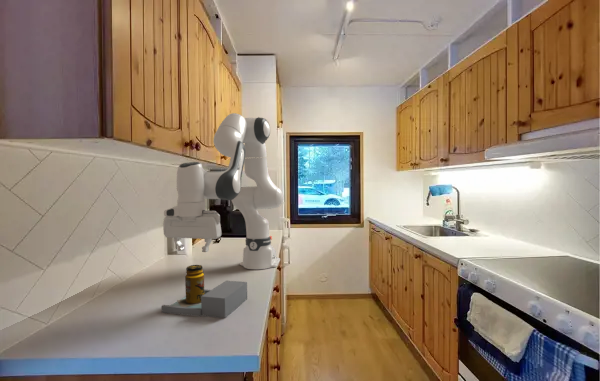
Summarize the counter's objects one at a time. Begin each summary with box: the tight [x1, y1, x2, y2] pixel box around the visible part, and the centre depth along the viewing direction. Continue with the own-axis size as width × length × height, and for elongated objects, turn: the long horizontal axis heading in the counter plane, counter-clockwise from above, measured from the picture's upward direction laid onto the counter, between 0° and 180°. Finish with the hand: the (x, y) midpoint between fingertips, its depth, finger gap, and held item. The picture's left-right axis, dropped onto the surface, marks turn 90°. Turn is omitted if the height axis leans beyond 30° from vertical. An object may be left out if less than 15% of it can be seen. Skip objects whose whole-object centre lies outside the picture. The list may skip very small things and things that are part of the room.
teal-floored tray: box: [160, 280, 248, 319], centre depth 105 cm, size 17×22×6 cm
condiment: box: [176, 264, 205, 307], centre depth 106 cm, size 7×8×12 cm
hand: (193, 251), depth 106 cm, fingers open, 8 cm apart
